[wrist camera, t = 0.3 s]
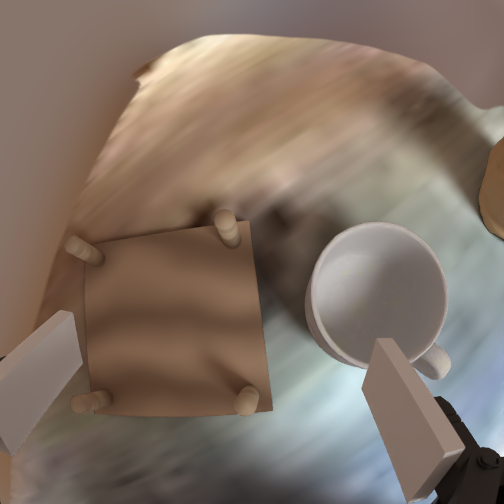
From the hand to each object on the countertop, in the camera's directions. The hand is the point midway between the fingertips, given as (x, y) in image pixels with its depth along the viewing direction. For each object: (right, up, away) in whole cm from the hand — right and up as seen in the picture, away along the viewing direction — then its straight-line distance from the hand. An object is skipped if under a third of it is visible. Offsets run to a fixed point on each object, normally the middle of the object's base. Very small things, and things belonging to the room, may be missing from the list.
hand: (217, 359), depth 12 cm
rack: (-6, -2, +16) cm, 17 cm away
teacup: (+12, -2, +15) cm, 19 cm away
